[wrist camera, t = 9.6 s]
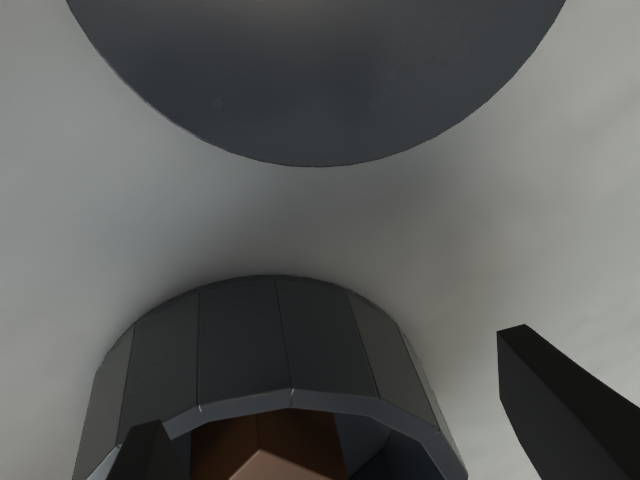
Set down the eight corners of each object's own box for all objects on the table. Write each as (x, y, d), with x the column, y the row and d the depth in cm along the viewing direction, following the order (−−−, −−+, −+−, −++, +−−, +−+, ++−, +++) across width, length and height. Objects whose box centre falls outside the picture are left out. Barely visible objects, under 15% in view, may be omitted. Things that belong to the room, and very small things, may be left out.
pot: (27, 449, 25) (-18, 595, 20) (223, 209, 20) (228, 318, 15) (287, 540, 31) (302, 669, 26) (480, 368, 26) (543, 484, 21)
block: (190, 427, 25) (187, 520, 21) (251, 362, 24) (259, 449, 20) (270, 461, 27) (280, 551, 23) (331, 402, 25) (351, 488, 22)
